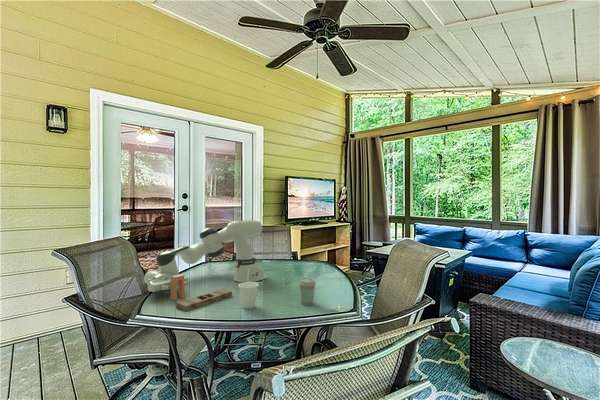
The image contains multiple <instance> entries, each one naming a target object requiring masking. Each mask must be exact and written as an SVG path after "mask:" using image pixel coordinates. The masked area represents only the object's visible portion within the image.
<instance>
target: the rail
mask: <svg viewBox="0 0 600 400" xmlns="http://www.w3.org/2000/svg"><path fill="white" fill-rule="evenodd" d="M230 297H233V291H231V290H228V289H224V288H221V289H218V290H214V291H211V292H207V293H203V294H200V295H196V296H195V297H190V298H187V299H183V300H180V301H177V302H175V304H176V305H175V308H176V309H179V310H181V311H184V312H188V311H191V310H194V309H198V308H200V307H203V306H207V305H210V304H212V303H215V302H218V301H222V300H224V299H228V298H230Z"/></svg>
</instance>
